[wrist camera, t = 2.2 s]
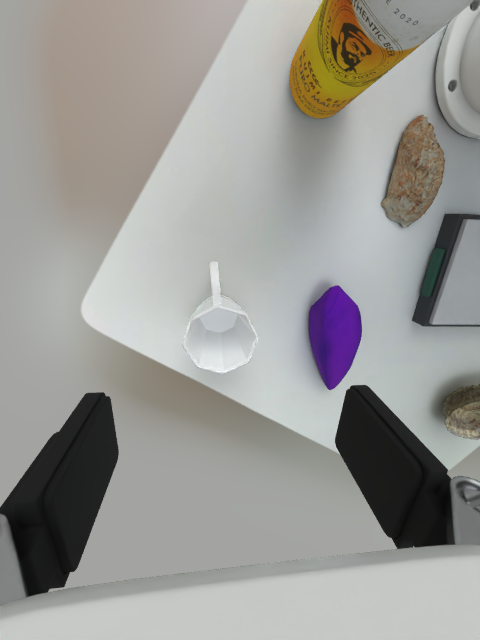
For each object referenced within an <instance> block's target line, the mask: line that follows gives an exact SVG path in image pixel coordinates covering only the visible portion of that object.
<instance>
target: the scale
mask: <svg viewBox="0 0 480 640" xmlns="http://www.w3.org/2000/svg"><path fill="white" fill-rule="evenodd" d="M412 321H414V322H416V323H418V324H420V325H422V326H474V327H480V215H470V214H445V216H444V219H443V223H442V226H441V229H440V232H439V236H438V239H437V242H436V245H435V248H434V251H433V254H432V257H431V260H430V263H429V267H428V270H427V273H426V276H425V280H424V283H423V286H422V289H421V293H420V297H419V300H418V303H417V307H416V310H415V313H414V316H413V320H412Z"/></svg>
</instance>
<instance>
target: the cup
mask: <svg viewBox="0 0 480 640" xmlns="http://www.w3.org/2000/svg"><path fill="white" fill-rule="evenodd" d="M210 275H211V287H212V297H210V298H208V299H206V300H204V302H203V303H202V304H201V305H200V306H198V308H197V309H196V311H195V312H194V314H193V315H192V316H191V318H190V320H189V323H188V327H187V330H186V333H185V337H184V340H183V344H182V346H183V348H184V349H185V351H186V352H187V354H188V355H189V357H190V358H191V360H192V361H193V363H194V364H195V366H196V367H197V368H200V369H205V370H209V371H213V372H217V373H221V374H225V373H227V372H230V371H232V370H234V369H236V368H238V367H240V366H242V365H244V364H246V363H249V361H250V359H251V356H252V354H253V351H254V349H255V346H256V344H257V341H258V339H259V337H258V335H257V333H256V331H255V329H254V327H253V325H252V323H251V321H250V319H249V317H248V315H247V313H246V312H245V311H244V310H243V309H242V308H241V307H240V306H239V305H238V304H237V303H236V302H234V301H232V299H231V298H229V297H226V296H223V295H221V291H220V280H219V270H218V262H210Z"/></svg>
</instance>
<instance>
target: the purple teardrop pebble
mask: <svg viewBox="0 0 480 640" xmlns="http://www.w3.org/2000/svg"><path fill="white" fill-rule="evenodd" d="M361 335H362V325H361V315H360V311H359V308H358V306H357V305H356V304H355V302H354V301H353V300H352V299H351V298H350V297H349V296H348V295H347V294H346V293H345V292H344V291H343V290H342V289H341V287H340V286H333V287H331V288H329V289H328V290H327V291H326V292H325V293H324V294H323V295H322V296H321V297H320V298H319V299H318V300H317V301H316V302H315V303H314V304H313V305H312V306H311V309H310V313H309V336H310V342H311V347H312V351H313V354H314V358H315V360H316V363H317V366H318V369H319V372H320V374H321V376H322V379H323V381H324V383H325V385H326V387H327V388H328V389H329V390H331V389H334V388H335V387H336V386H337V385H338V384H339V383H340V382H341V380H342V379H343V378H344V376H345V375H346V374H347V372H348V371H349V369H350V367H351V365H352V363H353V360H354V357H355V355H356V352H357V349H358V347H359V344H360V340H361Z"/></svg>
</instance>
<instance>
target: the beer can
mask: <svg viewBox="0 0 480 640" xmlns="http://www.w3.org/2000/svg"><path fill="white" fill-rule="evenodd" d="M473 1H474V0H323V1H322V3H321V4H320V6H319V8H318V10H317V12H316V14H315V16H314V18H313V20H312V22H311V24H310V26H309V28H308V30H307V32H306V33H305V35H304V37H303V39H302V41H301V43H300V45H299V47H298V49H297V51H296V53H295V55H294V57H293V60H292V63H291V68H290V88H291V93H292V96H293V98H294V100H295V102H296V104H297V106H298V107H299V108H300V109H301V110H302V111H303V112H304V113H305V114H307V115H308V116H311V117H313V118H327V117H330V116H332V115H334V114H336V113H337V112H339V111H340V110H341V109H342V108H344V107H345V106H346V105H347V104H349V103H350V102H351V101H352V100H353V99H355V98H356V97H357V96H358V95H360V94H361V93H362V92H363V91H365V90H366V89H367V88H368V87H369V86H371V85H372V84H373V83H374V82H376V81H377V80H378V79H379V78H381V77H382V76H383V75H384V74H386V73H387V72H388V71H389V70H390V69H392V68H393V67H394V66H395V65H397V64H398V63H399V62H400V61H402V60H403V59H404V58H405V57H406V56H408V55H409V54H410V53H411V52H413V51H414V50H415V49H416V48H418V47H419V46H420V45H421V44H422V43H424V42H425V41H426V40H427V39H429V38H430V37H431V36H432V35H434V34H435V33H436V32H437V31H438V30H440V29H441V28H442V27H443V26H445V25H446V24H447V23H448V22H450V21H451V20H452V19H453V18H454V17H456V16H457V15H458V14H459V13H461V12H462V11H463V10H464V9H465V8H467V7H468V6H469V5H470V4H471V3H472V2H473Z"/></svg>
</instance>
